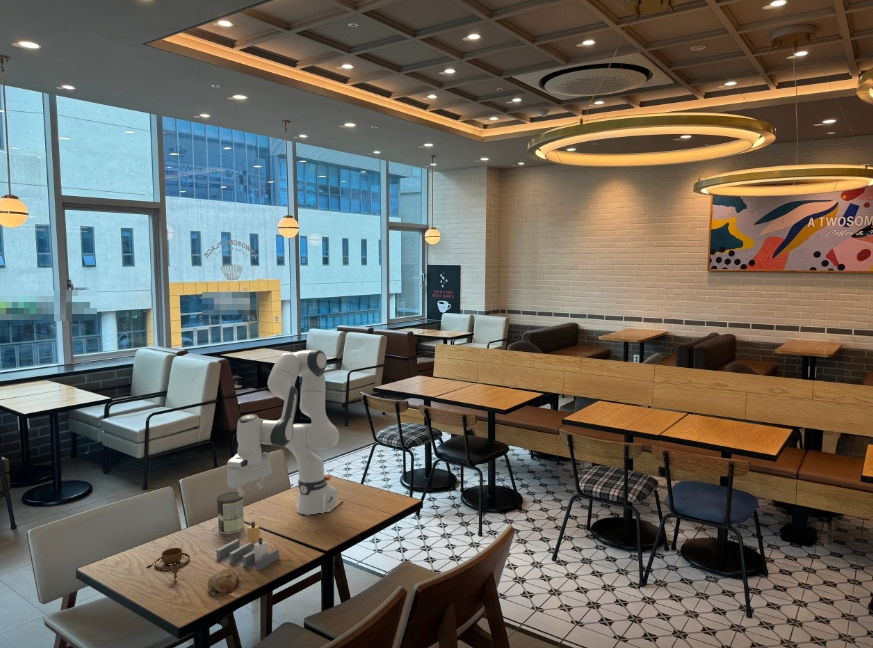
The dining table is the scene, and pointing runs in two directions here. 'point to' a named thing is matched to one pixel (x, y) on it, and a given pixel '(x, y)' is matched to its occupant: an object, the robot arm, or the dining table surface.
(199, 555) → the dining table surface
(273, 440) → the robot arm
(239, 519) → the coffee can
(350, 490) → the dining table surface
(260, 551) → the white plug
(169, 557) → the place setting
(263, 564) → the rack
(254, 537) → the orange plug
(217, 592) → the bread roll
